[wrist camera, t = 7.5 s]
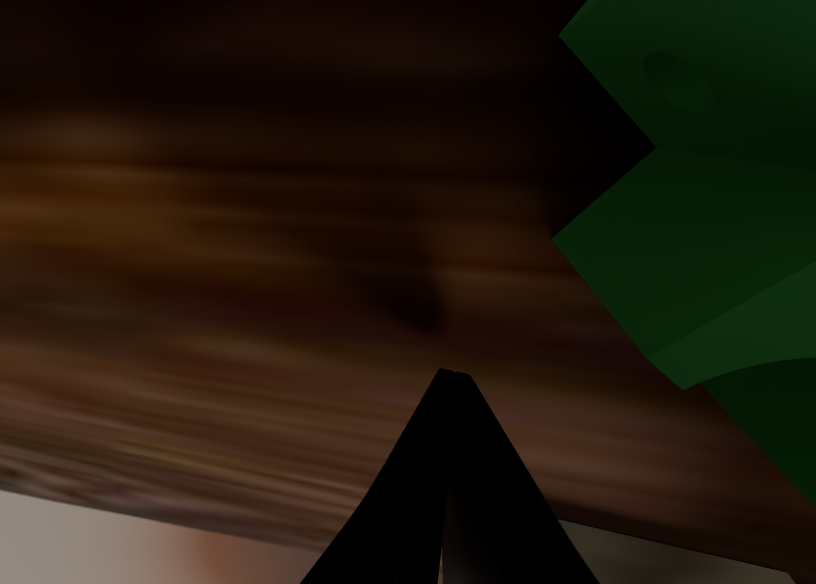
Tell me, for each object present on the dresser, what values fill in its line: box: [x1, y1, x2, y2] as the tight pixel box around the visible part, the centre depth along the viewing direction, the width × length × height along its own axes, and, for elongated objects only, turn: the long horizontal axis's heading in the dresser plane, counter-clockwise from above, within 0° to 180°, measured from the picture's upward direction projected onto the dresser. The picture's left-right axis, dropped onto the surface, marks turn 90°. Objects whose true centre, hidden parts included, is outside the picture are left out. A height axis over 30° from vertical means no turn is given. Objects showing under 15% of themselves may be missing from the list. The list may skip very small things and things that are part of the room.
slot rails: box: [558, 519, 795, 584], centre depth 8 cm, size 12×18×2 cm
